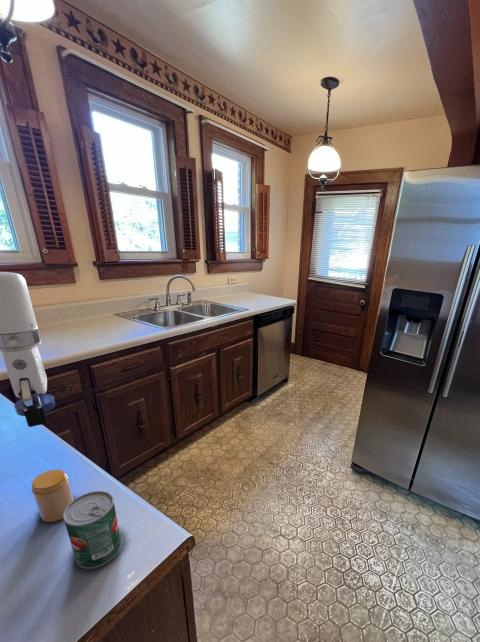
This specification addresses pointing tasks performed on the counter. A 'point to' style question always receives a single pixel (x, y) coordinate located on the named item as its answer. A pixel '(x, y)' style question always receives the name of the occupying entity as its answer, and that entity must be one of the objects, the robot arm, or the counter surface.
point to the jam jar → (52, 494)
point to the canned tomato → (93, 529)
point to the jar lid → (45, 401)
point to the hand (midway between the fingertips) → (38, 415)
